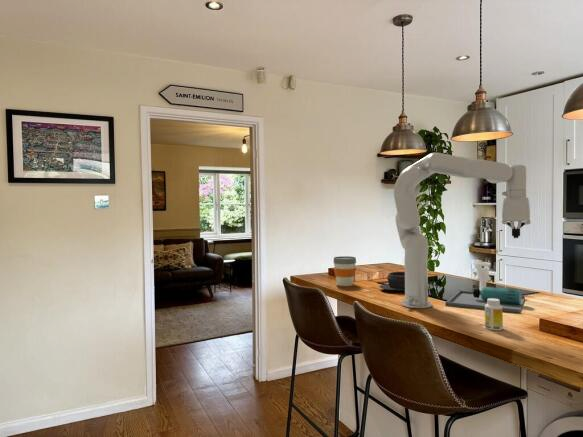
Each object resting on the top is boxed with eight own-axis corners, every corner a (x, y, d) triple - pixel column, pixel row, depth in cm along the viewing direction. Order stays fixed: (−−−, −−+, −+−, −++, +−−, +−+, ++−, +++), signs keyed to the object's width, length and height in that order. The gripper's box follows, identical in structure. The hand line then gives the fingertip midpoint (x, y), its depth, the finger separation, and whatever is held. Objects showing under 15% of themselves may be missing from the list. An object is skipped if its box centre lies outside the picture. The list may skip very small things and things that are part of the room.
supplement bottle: (504, 328, 145) (504, 299, 145) (499, 332, 141) (499, 302, 141) (487, 325, 149) (487, 297, 148) (482, 329, 145) (482, 299, 144)
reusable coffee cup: (344, 281, 240) (344, 255, 239) (361, 284, 230) (360, 257, 230) (329, 284, 232) (328, 257, 231) (345, 287, 222) (345, 259, 222)
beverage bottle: (522, 302, 170) (471, 296, 182) (524, 308, 175) (474, 302, 187) (524, 287, 173) (473, 282, 185) (526, 293, 177) (476, 288, 189)
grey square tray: (519, 313, 163) (519, 309, 163) (445, 305, 179) (445, 302, 179) (524, 299, 187) (524, 295, 187) (458, 293, 202) (458, 290, 202)
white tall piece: (479, 288, 212) (478, 259, 212) (493, 290, 207) (492, 260, 206) (472, 290, 208) (472, 260, 207) (486, 292, 202) (486, 261, 202)
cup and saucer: (416, 285, 225) (416, 269, 224) (435, 292, 206) (435, 275, 206) (373, 288, 219) (373, 272, 219) (388, 295, 201) (388, 278, 201)
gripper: (495, 194, 176) (495, 238, 176) (536, 193, 168) (536, 239, 168) (497, 195, 182) (497, 236, 183) (537, 194, 174) (536, 237, 174)
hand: (516, 237), depth 175 cm, fingers closed
